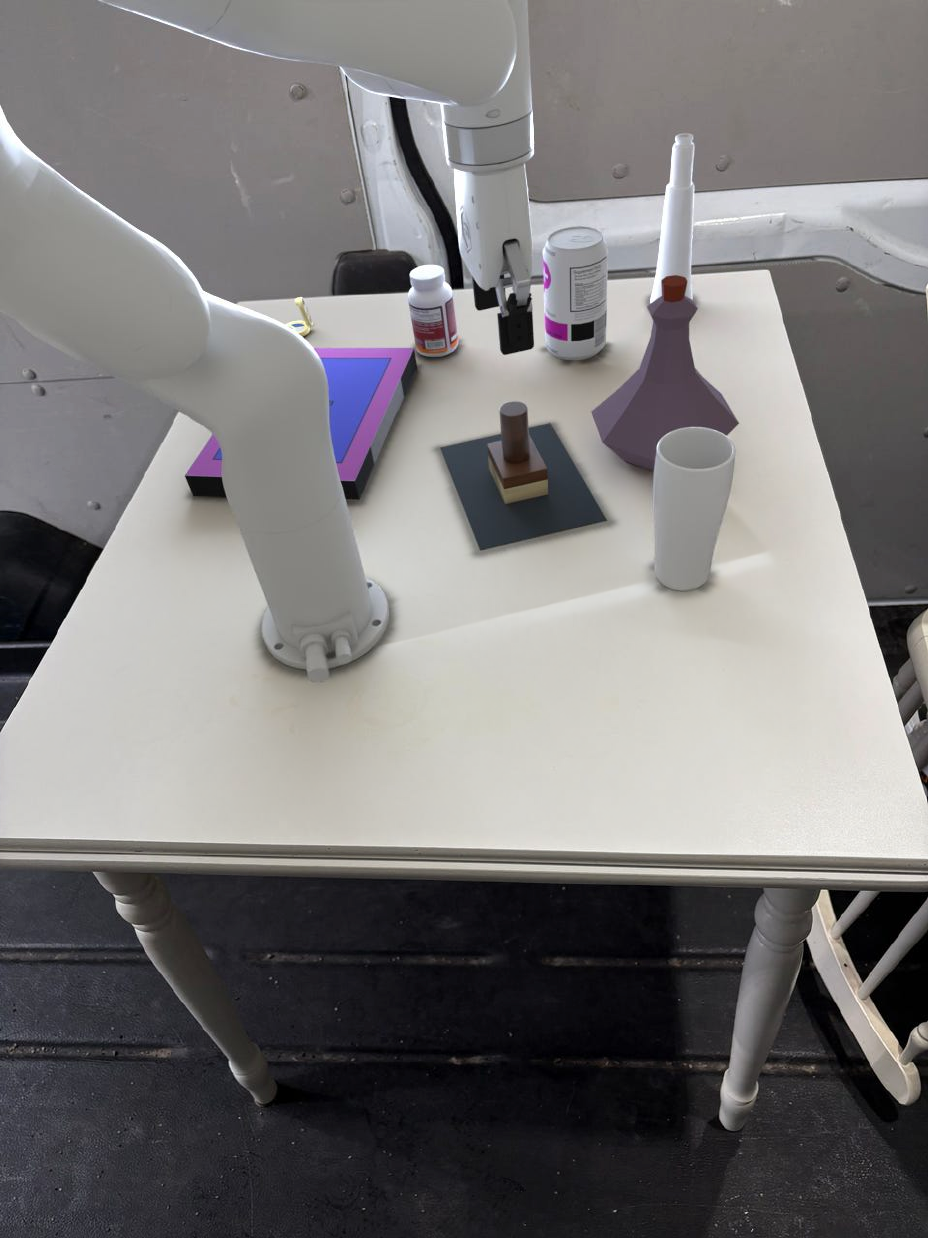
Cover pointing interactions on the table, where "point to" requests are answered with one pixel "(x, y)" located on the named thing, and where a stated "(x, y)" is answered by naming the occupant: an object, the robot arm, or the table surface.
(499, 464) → the brush
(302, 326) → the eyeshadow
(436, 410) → the table surface
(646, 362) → the flask
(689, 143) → the cosmetic bottle
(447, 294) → the pill bottle
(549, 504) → the mat
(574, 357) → the supplement can
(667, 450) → the drinking glass
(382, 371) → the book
